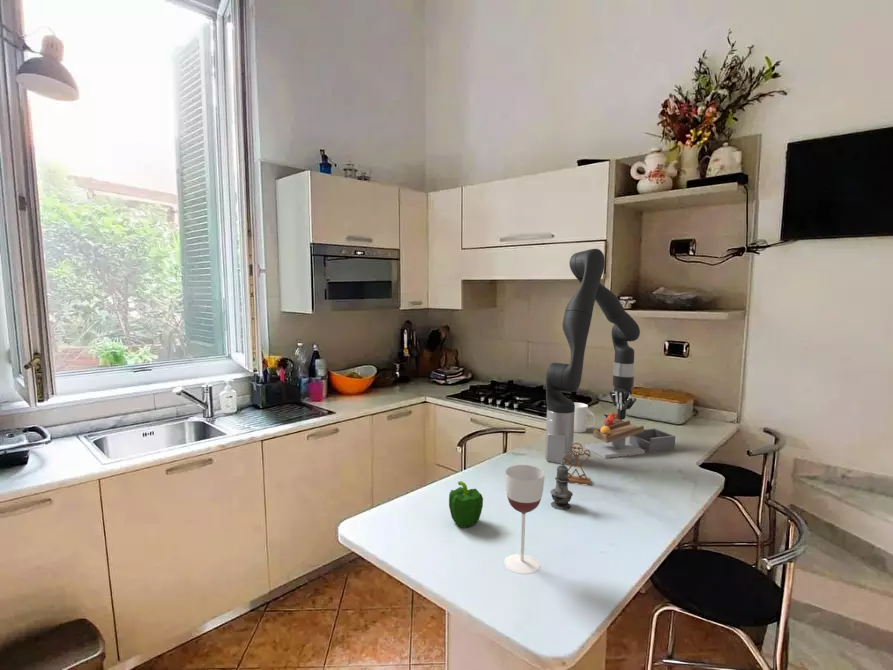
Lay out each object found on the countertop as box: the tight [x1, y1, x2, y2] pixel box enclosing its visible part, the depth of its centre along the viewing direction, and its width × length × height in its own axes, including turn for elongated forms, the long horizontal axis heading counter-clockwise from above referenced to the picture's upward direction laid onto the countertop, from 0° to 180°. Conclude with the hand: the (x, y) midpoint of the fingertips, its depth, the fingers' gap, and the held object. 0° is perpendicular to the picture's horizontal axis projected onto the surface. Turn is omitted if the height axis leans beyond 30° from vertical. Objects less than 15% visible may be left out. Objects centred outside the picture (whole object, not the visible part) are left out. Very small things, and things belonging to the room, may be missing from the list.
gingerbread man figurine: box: [563, 442, 591, 486], centre depth 148 cm, size 9×4×12 cm, turn 74°
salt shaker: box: [550, 463, 574, 511], centre depth 131 cm, size 6×6×12 cm
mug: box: [573, 401, 596, 434], centre depth 202 cm, size 9×12×11 cm
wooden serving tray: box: [592, 419, 645, 443], centre depth 181 cm, size 15×16×2 cm
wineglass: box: [503, 464, 545, 575], centre depth 103 cm, size 8×9×20 cm
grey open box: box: [628, 428, 676, 453], centre depth 183 cm, size 11×12×5 cm
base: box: [584, 438, 646, 459], centre depth 178 cm, size 12×17×6 cm
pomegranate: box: [603, 412, 621, 426], centre depth 205 cm, size 7×7×10 cm
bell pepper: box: [448, 480, 484, 528], centre depth 121 cm, size 8×8×10 cm
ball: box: [599, 425, 611, 435], centre depth 176 cm, size 4×4×4 cm
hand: (621, 418), depth 187 cm, fingers closed
